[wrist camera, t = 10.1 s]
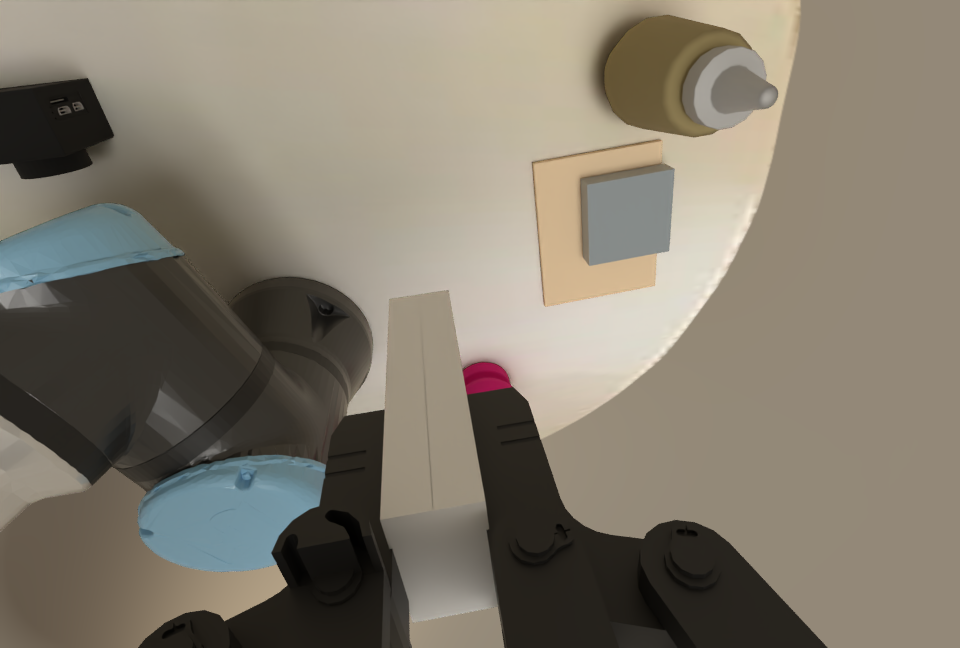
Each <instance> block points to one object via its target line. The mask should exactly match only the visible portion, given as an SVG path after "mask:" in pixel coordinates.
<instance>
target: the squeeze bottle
mask: <svg viewBox="0 0 960 648" xmlns="http://www.w3.org/2000/svg"><path fill="white" fill-rule="evenodd" d="M766 76H767V75H766V71H765V66H764V62H763V60H762V59H761V58H760V56H759V55H758V54H757V53H756V52H755V51H754V50H752V48H751V46H750V45H749V44H748V43H747V42H746V40H745V39H744V38H743V37H742V36H741V34H739V33H736V32H733V31H731V30H728V29H725V28H721V27H717V26H713V25H709V24H704V23H700V22H696V21H692V20H687V19H683V18H679V17H675V16H670V15H663V16H657V17H651V18H647V19H645V20H643V21H642V22H640V23H639V24H637V25H636V26H634V27H633V28H631V29H630V30H628V31H627V32H626V34H625V35H624V36H623V37H622V39H621V40H620V41H619V42H618V44H617V45H616V46H615V48H614V49H613V50H612V52H611V53H610V54H609V57H608V60H607V63H606V66H605V69H604V85H605V91H606V95H607V97H608V100H609V102H610V105H611V107H612V110H613V112H614V113H615V114H616V115H617V116H618V117H619V118H620V119H621V120H622V121H624V122H625V123H626V124H628V125H631V126H635V127H639V128H642V129H647V130H653V131H659V132H665V133H671V134H677V135H683V136H689V137H699V136H705V135H711V134H713V133H715V132H716V131H718V130H721V129H727V128H732V127H734V126H735V125H737V124H739V123H740V122H742V121H744V120H745V119H746V118H747V117H748V116H749V115H750V114H751V113H752V112H753V110H759V109H766V108H769V107H771V106H772V105H773V104H774V103H775V102H776V100H777V97H778V90H777V89H776V87H775V86H773V85H772V84H770V83H768V82H767V81H766Z"/></svg>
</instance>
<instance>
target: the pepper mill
mask: <svg viewBox="0 0 960 648" xmlns="http://www.w3.org/2000/svg"><path fill="white" fill-rule="evenodd" d="M463 376H464V382H465V388H466V393H467V394H473V393H479V392H485V391H491V390H497V389H504V388H510V387H512V386H511V384H510V381H509V378H508V375H507V373H506V372H505V370H504V369H503V368H501V367H500V366H498V365H496V364H493V363H485V362H482V363H476V364H474V365H471V366H469V367H467V368H466V369H464V370H463Z"/></svg>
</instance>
